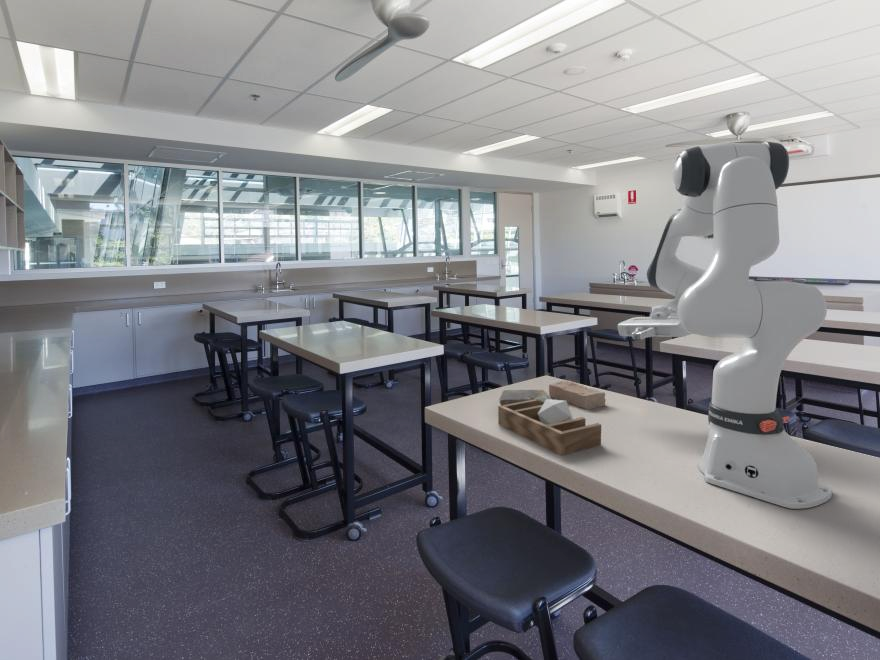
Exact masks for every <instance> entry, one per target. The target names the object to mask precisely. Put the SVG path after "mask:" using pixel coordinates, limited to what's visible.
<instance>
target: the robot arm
mask: <svg viewBox="0 0 880 660" xmlns="http://www.w3.org/2000/svg"><path fill="white" fill-rule="evenodd" d="M789 167H790V157H789V152H788V150H787V149H786V147H785V146H784V145H783V144H782V143H778V142H773V141H763V142H761V143H760V142H738V143H737V142H736V143H732V142H728V143H727V142H726V143H718V144H712V145H707V146H701V147H700V146H694V147H690V148H687V149H685V150H682V152H681V153H680V154H679V155H678V156H677V159H676V160H675V164H674V165H673V171H672V179H673V182H674V183H673V184H674V186H675V190H676V191H677V192H678V193H679V194H680V195H682V196H684V197H685V201H684V203H683V204H684V205H683V206H682V208H678V209H677V210H674V212H673V213H672V214H671V216H670V217H669V218H668V220H667V222H666V225H665V226H664V229H663V232H662V235H661V237H660V240H659V242H658V245H657V248H656V251H655V254H654V257H653V258H652V260H651V262H650V265H649V267H648V269H647V271H646V279H647V281H648V284H649V286H650V287H651V288H654V289H656V290H659V291H661V292H664V293H667V294H669V295H671V296H673V297H674V298H673V299H671V300H670V301H667V302H664V303H663V304H661V305H658V306H657V307H655V308H653V310H651V312H650V314H649V316H638V317H637V316H635V317H631V318H629V319H626V320H624V321H620V322H618V324H617V331H618V334H619V336H621V337H632V339H633V340H644V339H646V338H652V337H656V338H660V337H661V338H664V337H665V338H683V337H687V336H690V335H691V334H693V335H697V336H703V337H707V338H715V339H716V338H717V339H719V338H723V339H725V338H727V339H729V338H730V339H731V338H734V339H735V338H736V339H739V338H740V339H744V342H743V343H742V345H741V347H740V348H739V349H737V350H736V351H735V352H733V353H731V354H729V355H727V356H724V357H723V358H722V359H720V360H719V361H718V362H717V363H716V364H715V366H714V369H713V370H712V371H713V373H712V374H713V375H712V393H711V401H709V405H708V414H707V415H708V417H707V418H708V419H707V420H708V425H709V426H708V432H707V438H706V444H705V447H704V451H703V454H702V457H701V460H700V462H699V463H698V464H699V465H698V467H699V468H698V469H700V471H701V473H702V474H704V480H705V482H706V483H708V484H711V485H715V486H718V487H721V488H725V489H726V490H729V491H733V492H737V493H740V494H742V495H746V496H748V497H753V498H756V499H759V500H761V501H765V502H768V503H771V504H774V505H777V506H780V507H784V508H787V509H792V510H793V509H794V510H797V509H798V510H800V509H801V510H802V509H808V508H813V507H816V506H819V505H822V504H824V503H826V502H828V501H829V500H830V499H831V498H832V496H833V488H832V487H831V486H830V485H828V484H827V483H824V482H822V481H820V480H819V474H818V472H819V471H818V465H817V462H816V460H815V458H814V457H813V455H811V454H810V453H809V452H808V451H806V450H805V449H804V448H803V446H801V445H800V444H799V443H797V441H796V440H794V439H793V438H792V437H791V436H790V435H789V434H788V433H787V432H786V431H785V430H784V429H785V428H784V424H785V423H789V422H790V420H789V419H790V415H788V416H784V417H782V415H781V414H780V413H779V411H778V409H777V407H776V405H777V394H778V387H779V382H780V381H779V380H780V375H781V373H782V369H783V366H784V364H785V362H786V360H787V359H788V357H789V356H790V355H791V353H792V352H793V350H794V349H795V348H796V346H798V345H799V344H800V343H801V342H802V341H804V340H805V339H806V338H807V337H809V336H810V335H812V334H814V333H816V332H817V331H818V330H819V329H820V328H821V327H822V325H823V323H824V321H825V319H826V317H827V312H828V306H827V301H826V298H825V296H824V295H823V293H822V292H821V290H820V289H818V288H817V287H816V286H815V285H812V284H807V283H801V282H796V281H789V280H773V281H772V280H769V281H768V280H765V281H764V280H763V281H756V280H755V281H752V280H750V272H751V269H752V267H753V266H756V265H758V264H761V263H762V262H764V261H766V260H767V259H769V258H771V256H773V255H774V254H775V253H776V252H777V250H778V247H779V245H780V228H779V210H778V209H779V208H778V206H779V205H778V199H777V198H778V196H777V190H778V189H779V188H780V187H781V186H782V185H783V184H784V182H785V181H786V179H787V177H788V173H789ZM712 235H713V240H712V241H713V242H712V243H713V244H712V254H711V258H710V261H709V264H708V266H707V267H706V269H702V268H700V267H698V266H695V265H692V264H690V263H689V262H688V263H687V262H685V261H683V260H681V259H679V258H678V257H677V255H676V252H677V250H678V247H679V244H680V242H681V240H682V238H683V237H708V236H712Z"/></svg>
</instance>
